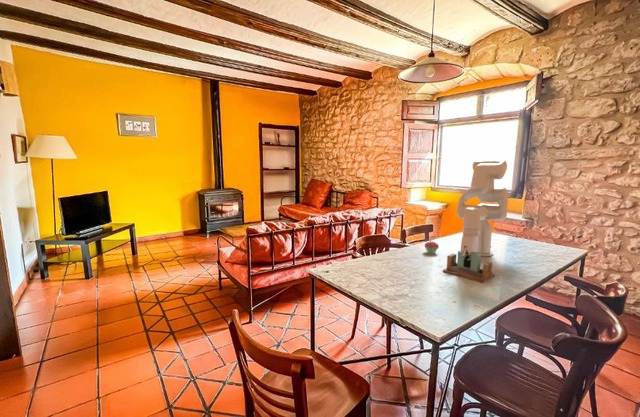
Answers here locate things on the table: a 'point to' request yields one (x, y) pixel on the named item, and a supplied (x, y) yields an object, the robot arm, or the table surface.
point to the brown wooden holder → (476, 276)
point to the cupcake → (431, 247)
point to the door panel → (474, 263)
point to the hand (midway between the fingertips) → (468, 265)
